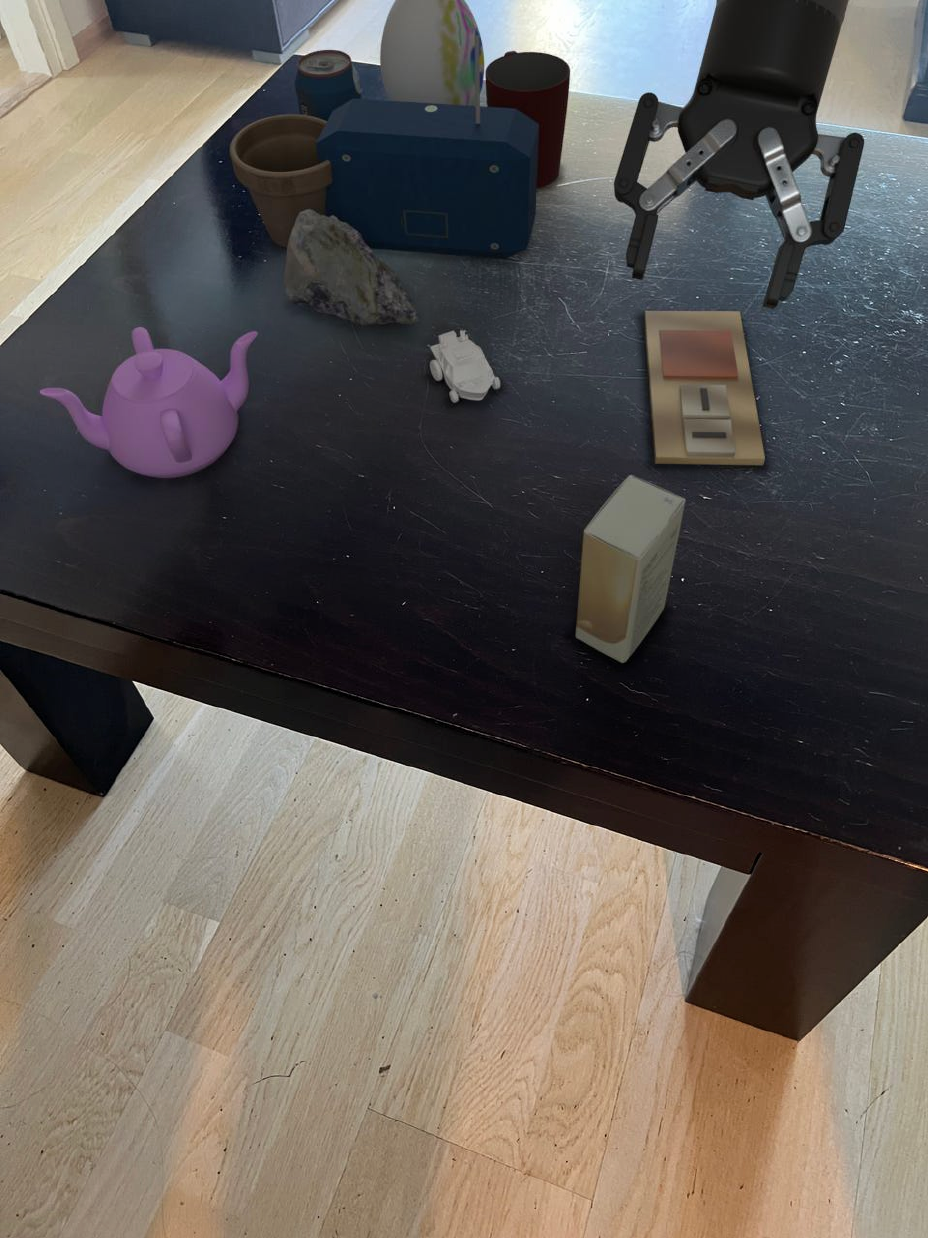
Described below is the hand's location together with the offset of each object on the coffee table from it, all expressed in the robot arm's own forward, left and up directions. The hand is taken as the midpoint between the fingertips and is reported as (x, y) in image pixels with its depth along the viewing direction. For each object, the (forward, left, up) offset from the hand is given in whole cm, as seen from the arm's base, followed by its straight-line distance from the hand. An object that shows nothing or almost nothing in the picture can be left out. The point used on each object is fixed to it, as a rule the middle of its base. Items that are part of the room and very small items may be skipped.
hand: (703, 291), depth 62 cm
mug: (+13, -54, -21) cm, 59 cm away
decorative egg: (+24, -66, -21) cm, 73 cm away
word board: (-4, -16, -21) cm, 26 cm away
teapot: (+42, -8, -21) cm, 47 cm away
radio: (+22, -40, -21) cm, 50 cm away
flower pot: (+36, -40, -21) cm, 58 cm away
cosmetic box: (+4, +11, -21) cm, 24 cm away
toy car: (+17, -16, -21) cm, 31 cm away
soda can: (+34, -53, -21) cm, 66 cm away
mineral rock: (+29, -26, -21) cm, 44 cm away
